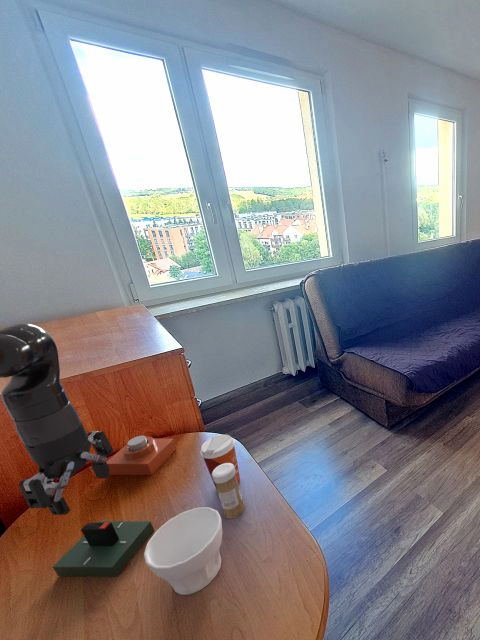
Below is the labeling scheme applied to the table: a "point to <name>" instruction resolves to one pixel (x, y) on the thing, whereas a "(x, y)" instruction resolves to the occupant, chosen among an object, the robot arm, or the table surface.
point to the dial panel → (105, 552)
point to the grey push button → (137, 443)
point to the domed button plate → (141, 458)
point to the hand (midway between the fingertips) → (84, 494)
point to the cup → (187, 550)
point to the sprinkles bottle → (228, 490)
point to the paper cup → (219, 453)
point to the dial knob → (100, 534)
